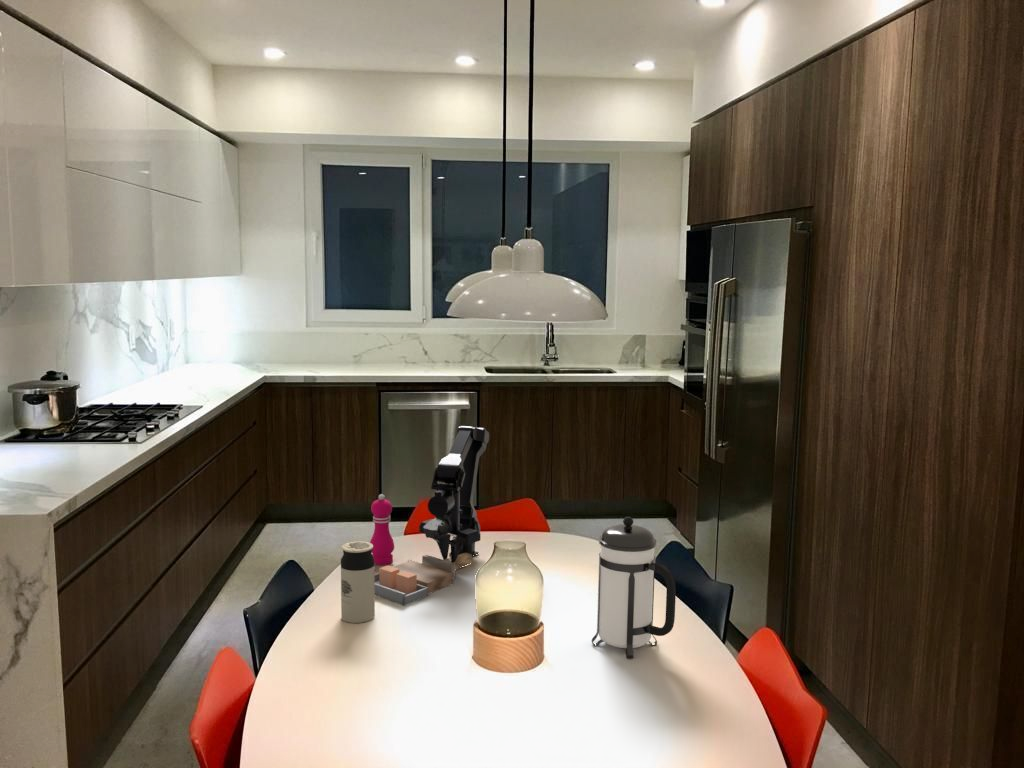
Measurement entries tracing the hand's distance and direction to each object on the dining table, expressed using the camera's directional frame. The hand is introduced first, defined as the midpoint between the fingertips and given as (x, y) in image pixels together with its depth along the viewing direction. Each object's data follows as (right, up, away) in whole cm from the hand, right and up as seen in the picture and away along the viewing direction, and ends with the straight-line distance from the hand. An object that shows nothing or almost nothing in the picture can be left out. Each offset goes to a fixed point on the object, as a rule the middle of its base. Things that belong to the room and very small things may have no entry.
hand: (449, 561), depth 245 cm
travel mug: (-20, -7, -34) cm, 40 cm away
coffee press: (+44, -10, -48) cm, 66 cm away
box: (-14, -5, -17) cm, 22 cm away
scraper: (+1, -3, +2) cm, 3 cm away
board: (-8, -4, -9) cm, 12 cm away
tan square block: (-14, -1, -12) cm, 19 cm away
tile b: (-9, -2, -16) cm, 19 cm away
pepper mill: (-20, -2, +7) cm, 21 cm away
